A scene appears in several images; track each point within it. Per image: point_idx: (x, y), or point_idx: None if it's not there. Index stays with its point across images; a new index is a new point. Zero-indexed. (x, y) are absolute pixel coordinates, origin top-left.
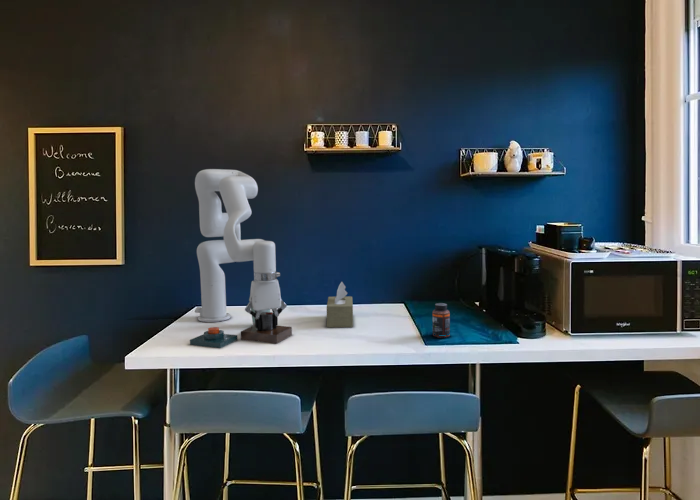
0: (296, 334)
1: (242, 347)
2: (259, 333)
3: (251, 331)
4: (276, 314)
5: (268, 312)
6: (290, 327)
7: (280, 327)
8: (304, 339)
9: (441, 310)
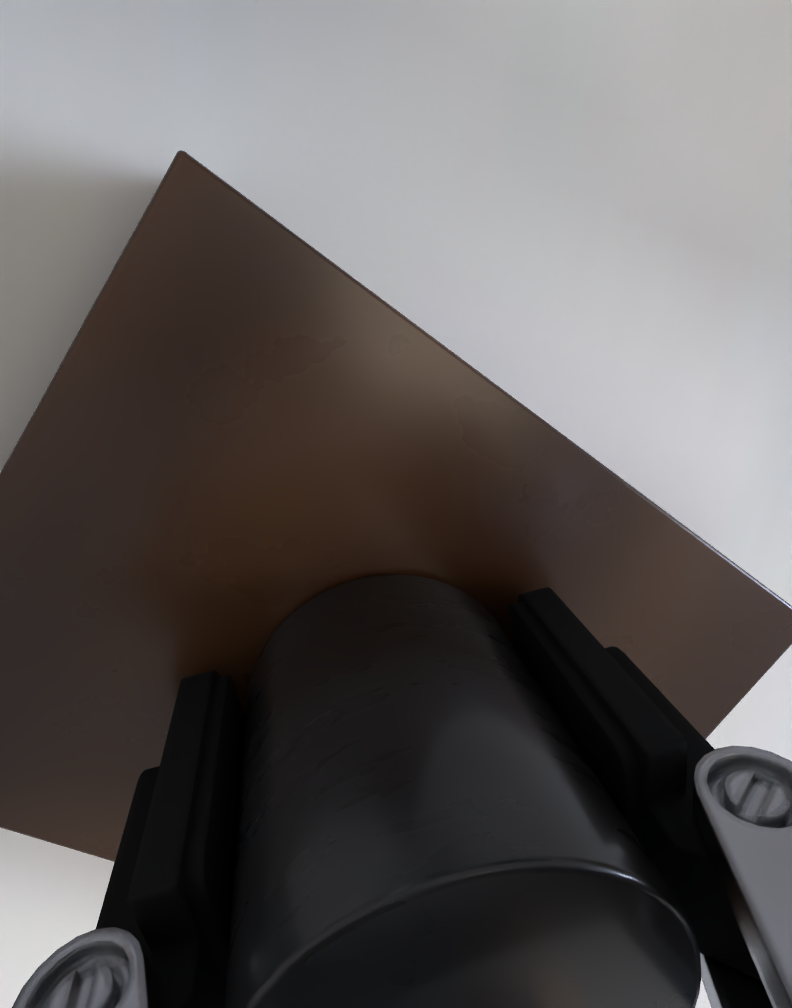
0: (775, 535)
1: (31, 958)
2: None
3: (87, 802)
4: (751, 967)
5: (580, 948)
6: (780, 655)
7: (636, 630)
8: (774, 748)
9: None
